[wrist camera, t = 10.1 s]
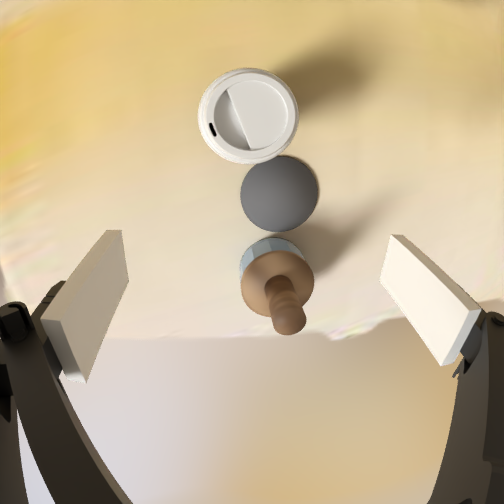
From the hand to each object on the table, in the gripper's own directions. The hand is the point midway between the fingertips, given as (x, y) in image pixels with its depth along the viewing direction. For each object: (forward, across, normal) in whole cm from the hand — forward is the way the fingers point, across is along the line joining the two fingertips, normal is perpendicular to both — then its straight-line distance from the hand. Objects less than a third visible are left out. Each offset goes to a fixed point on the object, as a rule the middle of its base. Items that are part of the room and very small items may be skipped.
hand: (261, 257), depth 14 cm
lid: (+24, +6, -17) cm, 30 cm away
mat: (+30, +6, -5) cm, 31 cm away
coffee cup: (+30, 0, +6) cm, 31 cm away
